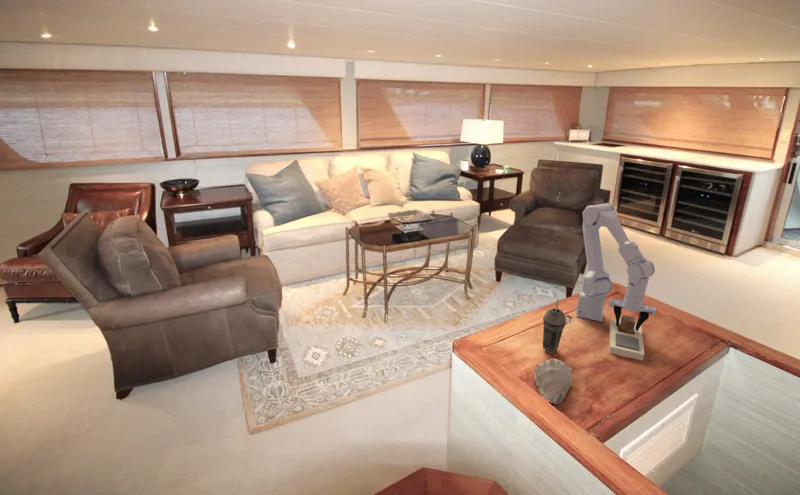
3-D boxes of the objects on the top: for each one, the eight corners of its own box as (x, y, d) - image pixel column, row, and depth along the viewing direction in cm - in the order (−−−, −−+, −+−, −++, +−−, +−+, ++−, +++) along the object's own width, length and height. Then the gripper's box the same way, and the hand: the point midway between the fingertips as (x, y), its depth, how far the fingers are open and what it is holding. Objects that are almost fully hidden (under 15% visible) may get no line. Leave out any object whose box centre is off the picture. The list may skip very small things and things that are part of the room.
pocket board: (609, 352, 141) (610, 346, 140) (609, 323, 158) (611, 318, 157) (642, 360, 137) (644, 354, 136) (639, 330, 154) (641, 324, 153)
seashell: (547, 408, 117) (552, 379, 113) (526, 376, 130) (530, 349, 126) (587, 404, 119) (593, 375, 115) (563, 372, 132) (568, 346, 128)
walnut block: (618, 336, 150) (622, 320, 147) (618, 331, 153) (622, 314, 151) (631, 339, 148) (635, 322, 146) (630, 334, 152) (634, 317, 149)
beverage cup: (561, 346, 144) (571, 295, 137) (559, 358, 138) (569, 305, 131) (540, 341, 147) (548, 290, 140) (537, 352, 141) (545, 300, 133)
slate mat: (615, 345, 141) (616, 343, 141) (615, 334, 147) (615, 333, 147) (639, 350, 138) (639, 349, 138) (638, 339, 144) (638, 338, 144)
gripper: (611, 294, 144) (604, 327, 149) (660, 303, 138) (650, 338, 143) (611, 285, 150) (604, 318, 155) (658, 294, 144) (649, 327, 149)
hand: (626, 327), depth 150 cm, fingers open, 6 cm apart
